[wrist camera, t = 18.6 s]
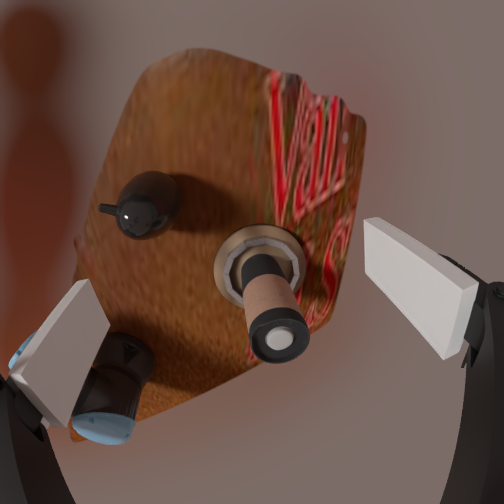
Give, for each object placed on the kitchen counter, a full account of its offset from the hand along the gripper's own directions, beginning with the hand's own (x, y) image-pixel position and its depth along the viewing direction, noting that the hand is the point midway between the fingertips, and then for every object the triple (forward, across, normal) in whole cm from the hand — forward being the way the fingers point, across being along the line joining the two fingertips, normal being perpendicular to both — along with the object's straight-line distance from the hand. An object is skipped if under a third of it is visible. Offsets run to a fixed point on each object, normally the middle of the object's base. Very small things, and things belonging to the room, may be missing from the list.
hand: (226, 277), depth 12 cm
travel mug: (+35, +3, -18) cm, 40 cm away
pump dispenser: (+37, -12, -1) cm, 39 cm away
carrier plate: (+37, +3, -18) cm, 41 cm away
